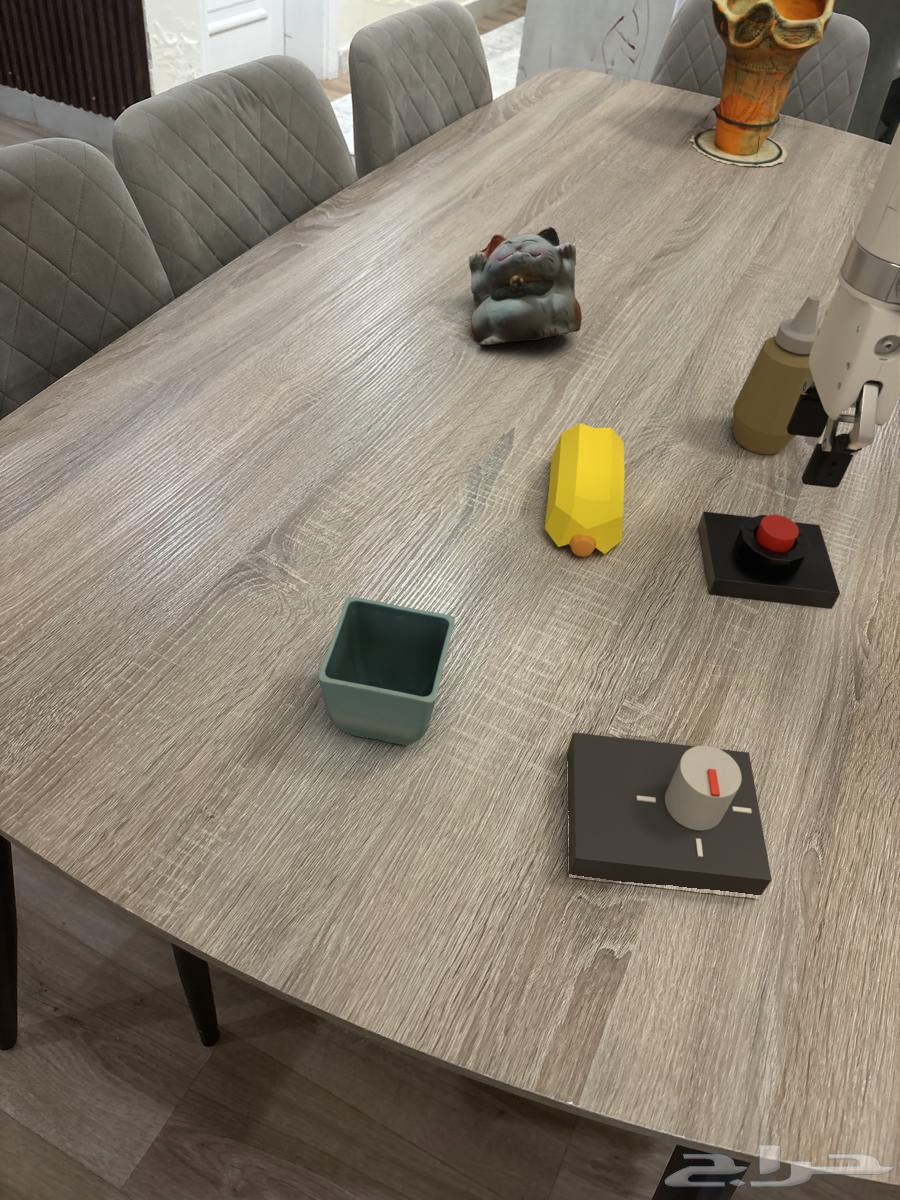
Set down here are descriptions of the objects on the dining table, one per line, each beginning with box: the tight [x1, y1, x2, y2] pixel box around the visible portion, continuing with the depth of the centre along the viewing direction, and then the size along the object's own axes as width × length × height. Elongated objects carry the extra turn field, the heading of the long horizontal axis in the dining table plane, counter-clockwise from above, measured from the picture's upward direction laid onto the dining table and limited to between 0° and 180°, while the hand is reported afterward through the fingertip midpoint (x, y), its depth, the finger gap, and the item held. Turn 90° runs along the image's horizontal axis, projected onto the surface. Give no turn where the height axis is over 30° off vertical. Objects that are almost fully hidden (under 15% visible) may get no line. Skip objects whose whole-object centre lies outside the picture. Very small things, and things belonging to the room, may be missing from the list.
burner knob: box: [665, 745, 742, 831], centre depth 68 cm, size 4×4×5 cm
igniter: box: [697, 511, 841, 610], centre depth 93 cm, size 12×10×4 cm
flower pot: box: [317, 596, 456, 746], centre depth 74 cm, size 9×9×9 cm
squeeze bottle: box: [732, 294, 821, 455], centre depth 103 cm, size 8×8×18 cm
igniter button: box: [756, 514, 799, 552], centre depth 91 cm, size 4×4×2 cm
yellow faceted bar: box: [544, 422, 626, 558], centre depth 96 cm, size 18×7×8 cm
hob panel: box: [566, 731, 773, 896], centre depth 71 cm, size 14×11×3 cm
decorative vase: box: [688, 0, 836, 168], centre depth 165 cm, size 21×23×28 cm
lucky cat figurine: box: [468, 226, 583, 347], centre depth 118 cm, size 15×12×14 cm
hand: (811, 457), depth 84 cm, fingers open, 6 cm apart
